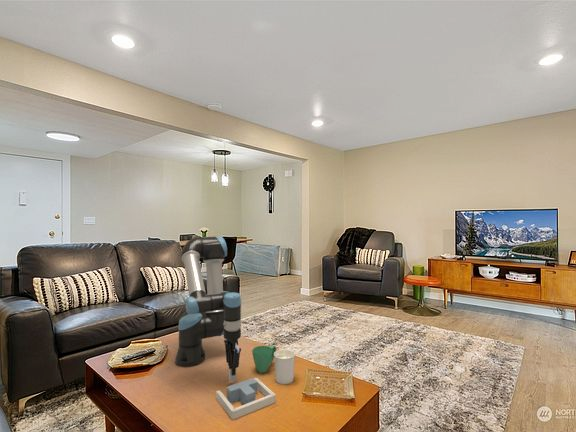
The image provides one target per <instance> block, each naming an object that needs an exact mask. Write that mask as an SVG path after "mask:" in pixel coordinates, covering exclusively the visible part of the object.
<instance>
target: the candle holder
mask: <svg viewBox="0 0 576 432" xmlns="http://www.w3.org/2000/svg"><path fill="white" fill-rule="evenodd" d="M295 359H296V353H295V351H294V350H292V349H288V348H282V349H278V350H277V349H276V352H275V353H274V359H273V361H274V374H275V375H274V376H275V377H274V378H275V381H276V382H277V383H278V384H280V385H289V384H291V383H293V381H294V379H295V378H294V376H295V362H296V360H295Z"/></svg>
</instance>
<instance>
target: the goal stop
mask: <svg viewBox="0 0 576 432" xmlns="http://www.w3.org/2000/svg"><path fill="white" fill-rule="evenodd" d="M253 379H254V380H255V381H256V382H257V391H259V392H260V393H261V394H263V397H261V398H258V399H255V401H252V402H250V403H247V404H245V405H244V404H242V405H240V406H237V407H235V406H233V404H231V403H230V402H229V401H228V400H227V396H225V395H224V393H223V392H222V391H221V390H220V389H219V390H216V391H215V396H216V397H215V398H216V400H217V402H218V403H219V404H220V406H221V407H222V408H223V410H224V411H225V412H226V413H227V415H228V416H229V418H230V419H231V420H236V419H238V418H241V417H243V416H246V415H248V414H250V413H253V412H255V411H256V412H257V411H258V410H260V409H263V408H266V407H267V406H270V405H273V404H275V403H276V401H277V400H276V396H277V395H276V393H275V392H273V390H271V389H270V388H269V387H268V386H267V385H265V384H264V383H263V382H262V381H261V379H259V378H258V377H254V378H253Z"/></svg>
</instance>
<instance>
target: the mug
mask: <svg viewBox="0 0 576 432" xmlns="http://www.w3.org/2000/svg"><path fill="white" fill-rule="evenodd" d="M276 351H277V348H276V346H275V344H274V345H273V344H272V345H270V346H269V345H260V346H259V345H258V346H255V347H253V348H252V350H251V352H252V358H253V363H254V365H255V369H256V371H257V372H258V373H259V374H264V373H267V372H268V369H269V367H270V365H271V364H272V362H273V361H274V353H275V352H276Z"/></svg>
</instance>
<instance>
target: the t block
mask: <svg viewBox="0 0 576 432" xmlns="http://www.w3.org/2000/svg"><path fill="white" fill-rule="evenodd" d="M257 394H258V389H257V382H256V381H255V380H254V378H253V377H252V378H249V379H245V380H242V381H240V382H237V383H234V384H231V385H228V386H226V398H227V400H228V401H229V402H230V403H231V405H233V404H234V403H236V402H241V403H242V405H245V404H247V403H250V402H252V401H255V400H256V395H257Z"/></svg>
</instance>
